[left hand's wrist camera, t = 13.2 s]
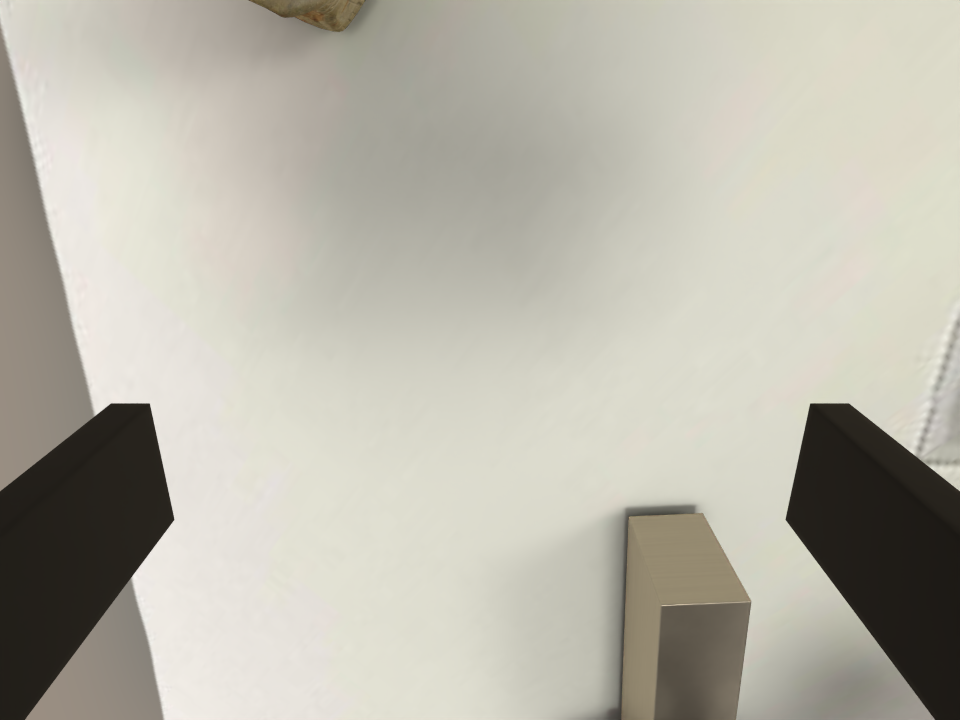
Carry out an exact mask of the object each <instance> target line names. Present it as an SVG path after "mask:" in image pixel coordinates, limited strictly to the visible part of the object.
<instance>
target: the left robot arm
mask: <svg viewBox="0 0 960 720" xmlns="http://www.w3.org/2000/svg"><path fill="white" fill-rule="evenodd" d="M173 521H174V515H173V511H172V506H171V501H170V497H169V492H168V487H167V483H166V478H165V473H164V468H163V464H162V459H161V454H160V450H159V445H158V440H157V436H156V431H155V426H154V422H153V417H152V412H151V407H150V404H110V405H109V406H107V407H106V408H105V409H104V410H102V411H101V412H100V413H99V414H97V415H96V416H95V417H94V418H92V419H91V420H90V421H88V422H87V423H86V424H85V425H83V426H82V427H81V428H80V429H78V430H77V431H76V432H75V433H73V434H72V435H71V436H70V437H68V438H67V439H66V440H65V441H63V442H62V443H61V444H59V445H58V446H57V447H56V448H54V449H53V450H52V451H51V452H49V453H48V454H47V455H46V456H44V457H43V458H42V459H41V460H39V461H38V462H37V463H36V464H34V465H33V466H32V467H30V468H29V469H28V470H27V471H25V472H24V473H23V474H22V475H20V476H19V477H18V478H17V479H15V480H14V481H13V482H12V483H10V484H9V485H8V486H6V487H5V488H4V489H3V490H1V491H0V720H25V719H26V717H27V716H28V715H29V713H30V712H31V711H32V709H33V708H34V707H35V705H36V704H37V703H38V701H39V700H40V699H41V697H42V696H43V695H44V693H45V692H46V691H47V689H48V688H49V687H50V685H51V684H52V683H53V681H54V680H55V679H56V677H57V676H58V675H59V673H60V672H61V671H62V669H63V668H64V667H65V665H66V664H67V663H68V661H69V660H70V659H71V657H72V656H73V655H74V653H75V652H76V651H77V649H78V648H79V647H80V645H81V644H82V643H83V641H84V640H85V639H86V637H87V636H88V634H89V633H90V632H91V631H92V629H93V628H94V627H95V625H96V624H97V622H98V621H99V620H100V618H101V617H102V616H103V614H104V613H105V612H106V610H107V609H108V608H109V606H110V605H111V604H112V602H113V601H114V600H115V598H116V597H117V596H118V594H119V593H120V592H121V590H122V589H123V588H124V586H125V585H126V584H127V582H128V581H129V580H130V578H131V577H132V576H133V574H134V573H135V572H136V570H137V569H138V568H139V566H140V565H141V564H142V562H143V561H144V560H145V558H146V557H147V556H148V554H149V553H150V552H151V550H152V549H153V548H154V546H155V545H156V544H157V542H158V541H159V540H160V538H161V537H162V536H163V534H164V533H165V532H166V530H167V529H168V528H169V526H170V525H171V524H172V522H173ZM786 521H787V522H788V524H789V525H790V526H791V528H792V529H793V530H794V532H795V533H796V534H797V536H798V537H799V538H800V540H801V541H802V542H803V544H804V545H805V546H806V548H807V549H808V550H809V552H810V553H811V554H812V556H813V557H814V558H815V560H816V561H817V562H818V564H819V565H820V566H821V568H822V569H823V570H824V572H825V573H826V574H827V576H828V577H829V578H830V580H831V581H832V582H833V584H834V585H835V586H836V588H837V589H838V590H839V592H840V593H841V594H842V596H843V597H844V598H845V600H846V601H847V602H848V604H849V605H850V606H851V608H852V609H853V610H854V612H855V613H856V614H857V616H858V617H859V618H860V620H861V621H862V622H863V624H864V625H865V627H866V628H867V629H868V631H869V632H870V633H871V635H872V636H873V637H874V639H875V640H876V641H877V643H878V644H879V645H880V647H881V648H882V649H883V651H884V652H885V653H886V655H887V656H888V657H889V659H890V660H891V661H892V663H893V664H894V665H895V667H896V668H897V669H898V671H899V672H900V673H901V675H902V676H903V677H904V679H905V680H906V681H907V683H908V684H909V685H910V687H911V688H912V689H913V691H914V692H915V693H916V695H917V696H918V697H919V699H920V700H921V701H922V703H923V704H924V705H925V707H926V708H927V709H928V711H929V712H930V713H931V715H932V716H933V717H934V719H935V720H960V491H959V490H957V489H956V488H955V487H954V486H952V485H951V484H950V483H948V482H947V481H946V480H945V479H943V478H942V477H941V476H940V475H938V474H937V473H936V472H935V471H933V470H932V469H931V468H930V467H928V466H927V465H926V464H925V463H923V462H922V461H921V460H919V459H918V458H917V457H916V456H914V455H913V454H912V453H911V452H909V451H908V450H907V449H906V448H904V447H903V446H902V445H901V444H899V443H898V442H897V441H896V440H894V439H893V438H892V437H890V436H889V435H888V434H887V433H885V432H884V431H883V430H882V429H880V428H879V427H878V426H877V425H875V424H874V423H873V422H872V421H870V420H869V419H868V418H866V417H865V416H864V415H863V414H861V413H860V412H859V411H858V410H856V409H855V408H854V407H853V406H851V405H850V404H810V407H809V412H808V417H807V421H806V426H805V431H804V436H803V440H802V445H801V450H800V454H799V459H798V464H797V468H796V473H795V478H794V483H793V487H792V492H791V497H790V501H789V506H788V511H787V515H786Z"/></svg>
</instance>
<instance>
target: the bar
mask: <svg viewBox="0 0 960 720" xmlns="http://www.w3.org/2000/svg"><path fill="white" fill-rule="evenodd" d="M750 607H751V600H750V598H749V596H748V594H747V593H746V591H745V589H744V587H743V585H742V584H741V582H740V580H739V578H738V576H737V574H736V573H735V571H734V569H733V567H732V565H731V564H730V562H729V560H728V558H727V556H726V555H725V553H724V551H723V549H722V547H721V545H720V544H719V542H718V540H717V538H716V536H715V535H714V533H713V531H712V529H711V527H710V525H709V524H708V522H707V520H706V518H705V516H704V515H703V513H695V514H673V515H652V516H630V517H629V522H628V549H627V576H626V603H625V630H624V656H623V683H622V710H621V720H736V714H737V707H738V699H739V691H740V684H741V676H742V668H743V661H744V653H745V645H746V638H747V630H748V622H749V615H750Z"/></svg>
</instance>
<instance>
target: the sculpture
mask: <svg viewBox="0 0 960 720" xmlns="http://www.w3.org/2000/svg"><path fill="white" fill-rule="evenodd" d="M249 1H251V2H254V3H256V4H258V5H260V6H262V7H265V8H267V9H269V10H270V11H272V12H274V13H276V14H278V15H279V16H281V17H285V18H287V17H296V18H298V19H300V20H302V21H304V22H306V23H309V24H311V25H314V26H316V27H319V28H322V29H326V30H330V31H335V32H341V31H343V30H344V29H345V28H346V27H347V26H348V25H349V24H350V22H351V21H352V20H353V18H354V17H355V15H356V14H357V12H358V11H359V9H360V8H361V6H362V5H363V3H364V2H365V0H249Z"/></svg>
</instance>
